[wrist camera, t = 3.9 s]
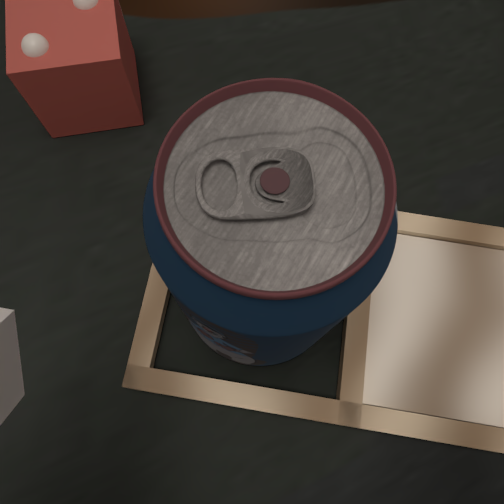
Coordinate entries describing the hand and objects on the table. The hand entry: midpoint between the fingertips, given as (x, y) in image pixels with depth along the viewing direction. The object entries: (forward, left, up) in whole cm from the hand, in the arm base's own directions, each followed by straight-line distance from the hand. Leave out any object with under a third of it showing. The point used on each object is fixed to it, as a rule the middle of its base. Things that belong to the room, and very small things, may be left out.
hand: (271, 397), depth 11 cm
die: (-12, +15, -10) cm, 21 cm away
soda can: (-1, +5, -10) cm, 11 cm away
